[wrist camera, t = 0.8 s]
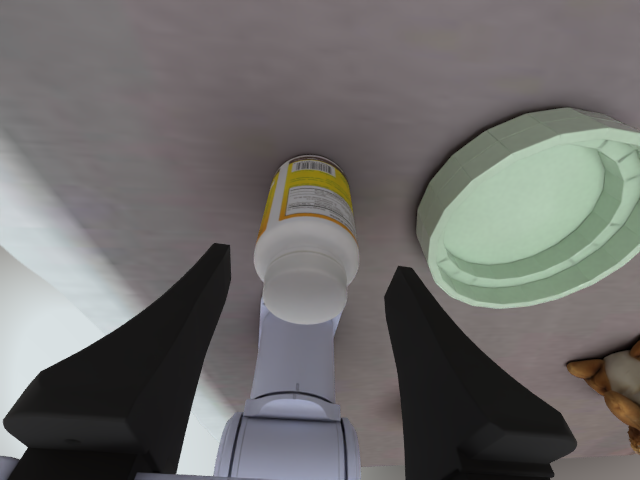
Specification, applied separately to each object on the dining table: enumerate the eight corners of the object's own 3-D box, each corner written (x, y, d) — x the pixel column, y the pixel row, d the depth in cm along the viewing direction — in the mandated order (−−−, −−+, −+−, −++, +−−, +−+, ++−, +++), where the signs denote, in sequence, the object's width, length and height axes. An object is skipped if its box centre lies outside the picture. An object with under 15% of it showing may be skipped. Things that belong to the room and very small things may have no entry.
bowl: (540, 280, 28) (567, 317, 25) (390, 261, 27) (399, 297, 23) (680, 126, 19) (750, 153, 16) (466, 86, 18) (496, 106, 14)
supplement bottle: (299, 229, 24) (288, 345, 16) (256, 175, 21) (216, 286, 13) (362, 199, 23) (384, 314, 15) (325, 135, 19) (327, 236, 12)
